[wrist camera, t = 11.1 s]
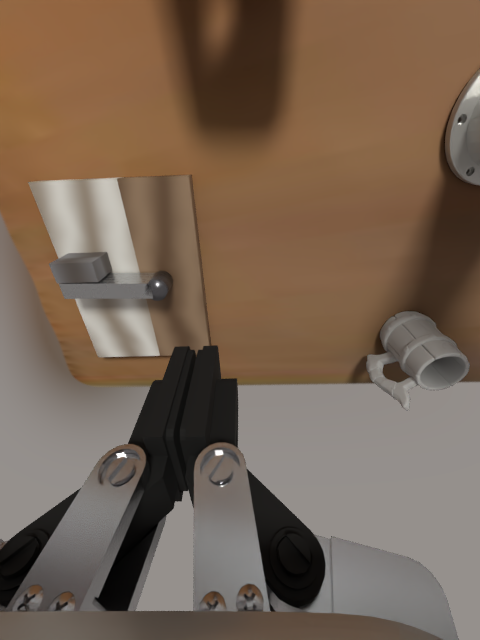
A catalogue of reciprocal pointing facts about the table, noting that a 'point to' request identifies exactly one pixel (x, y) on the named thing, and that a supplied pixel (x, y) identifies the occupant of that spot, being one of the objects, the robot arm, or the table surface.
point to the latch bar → (121, 287)
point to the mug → (416, 356)
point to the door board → (130, 258)
